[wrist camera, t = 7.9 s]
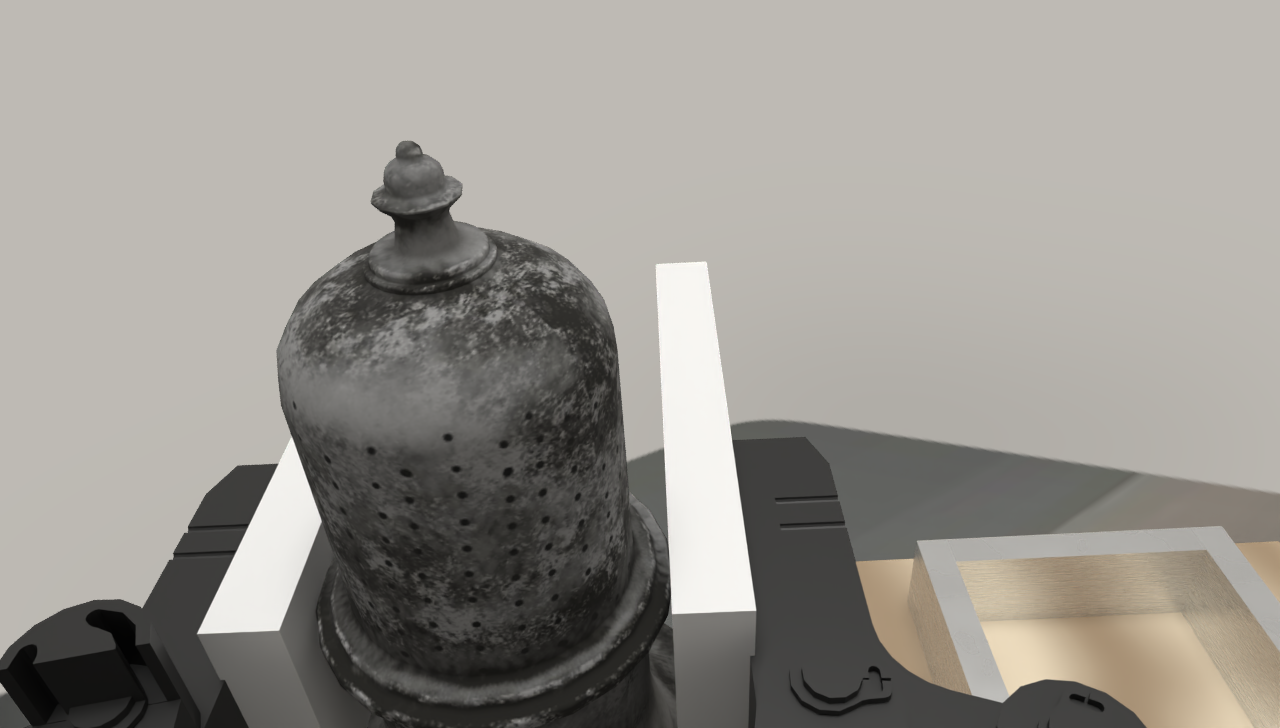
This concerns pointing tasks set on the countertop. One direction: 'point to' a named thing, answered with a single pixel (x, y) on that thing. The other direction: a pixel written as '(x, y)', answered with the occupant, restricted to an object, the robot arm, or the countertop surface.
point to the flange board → (1087, 649)
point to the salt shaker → (474, 480)
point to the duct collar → (1097, 600)
